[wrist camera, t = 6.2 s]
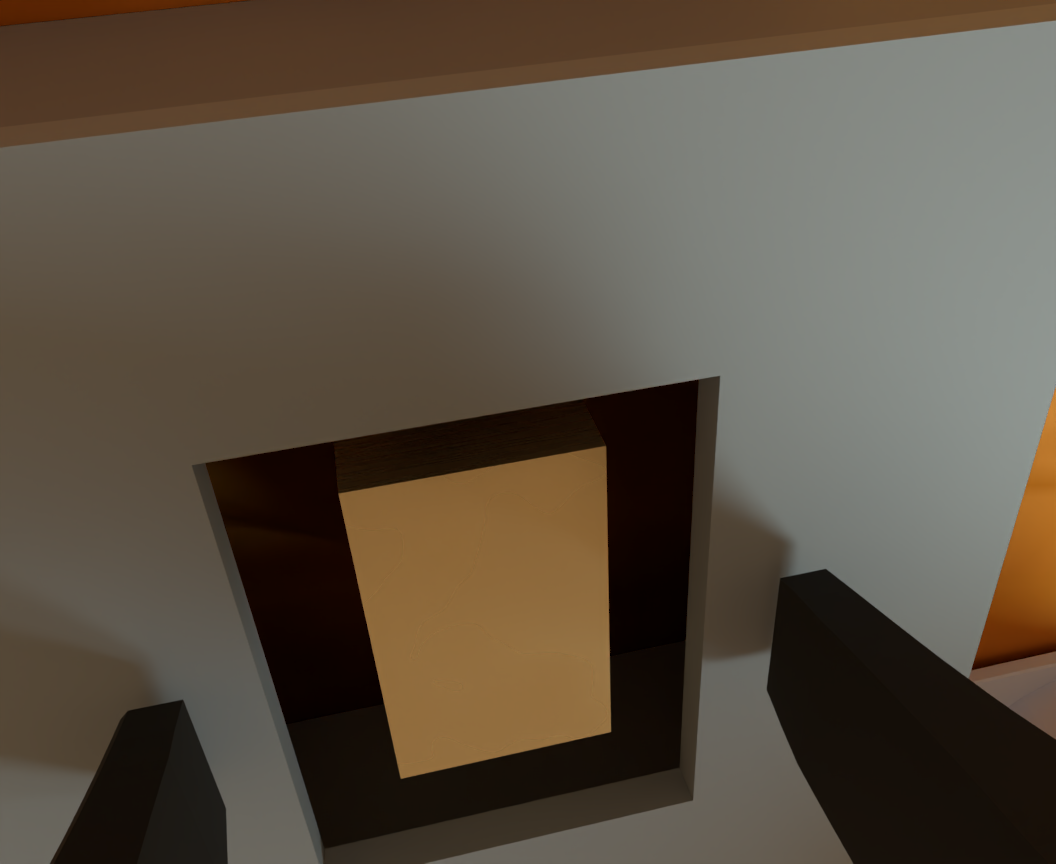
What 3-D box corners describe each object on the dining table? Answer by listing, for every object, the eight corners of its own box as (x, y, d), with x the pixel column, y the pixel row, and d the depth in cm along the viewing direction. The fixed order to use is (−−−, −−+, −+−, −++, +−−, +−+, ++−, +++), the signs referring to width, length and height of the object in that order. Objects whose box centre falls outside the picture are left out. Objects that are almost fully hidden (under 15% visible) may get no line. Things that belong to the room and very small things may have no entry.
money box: (787, 644, 21) (915, 857, 17) (128, 785, 19) (88, 1066, 15) (884, -65, 13) (1167, 6, 9) (-224, 49, 11) (-521, 210, 7)
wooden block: (533, 514, 18) (611, 732, 14) (371, 545, 17) (400, 779, 13) (515, 264, 15) (606, 446, 11) (320, 293, 14) (338, 494, 10)
